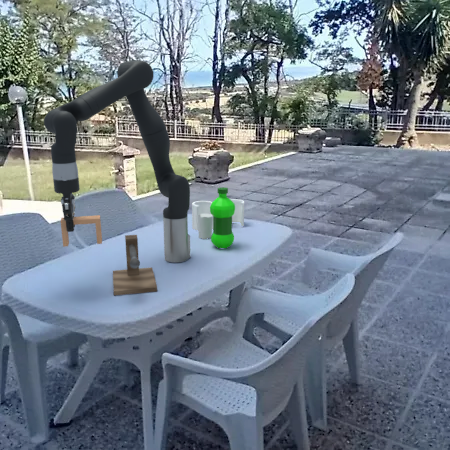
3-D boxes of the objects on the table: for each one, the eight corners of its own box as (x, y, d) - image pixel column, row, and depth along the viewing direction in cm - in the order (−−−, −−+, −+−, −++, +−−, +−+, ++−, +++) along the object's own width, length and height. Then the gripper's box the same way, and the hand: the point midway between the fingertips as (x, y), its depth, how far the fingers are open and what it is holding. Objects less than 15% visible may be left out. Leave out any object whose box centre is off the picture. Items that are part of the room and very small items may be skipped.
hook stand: (113, 274, 171) (110, 234, 167) (152, 271, 174) (150, 232, 170) (114, 302, 149) (111, 257, 145) (159, 298, 152) (157, 254, 148)
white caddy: (240, 222, 236) (240, 198, 233) (246, 228, 227) (246, 203, 224) (190, 225, 230) (190, 201, 227) (194, 231, 221) (194, 206, 218)
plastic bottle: (235, 243, 205) (236, 186, 198) (233, 251, 195) (234, 191, 188) (212, 242, 206) (212, 185, 199) (209, 250, 196) (208, 191, 189)
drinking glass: (210, 240, 209) (210, 218, 206) (196, 239, 210) (195, 217, 207) (214, 235, 215) (214, 214, 212) (199, 234, 216) (199, 213, 214)
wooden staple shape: (102, 239, 158) (100, 215, 156) (101, 243, 155) (99, 218, 152) (64, 242, 156) (61, 217, 153) (63, 246, 152) (60, 221, 150)
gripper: (55, 173, 154) (60, 223, 159) (50, 181, 141) (56, 237, 146) (79, 171, 156) (84, 222, 161) (77, 180, 142) (82, 235, 147)
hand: (71, 229), depth 153 cm, fingers closed on wooden staple shape, 4 cm apart
